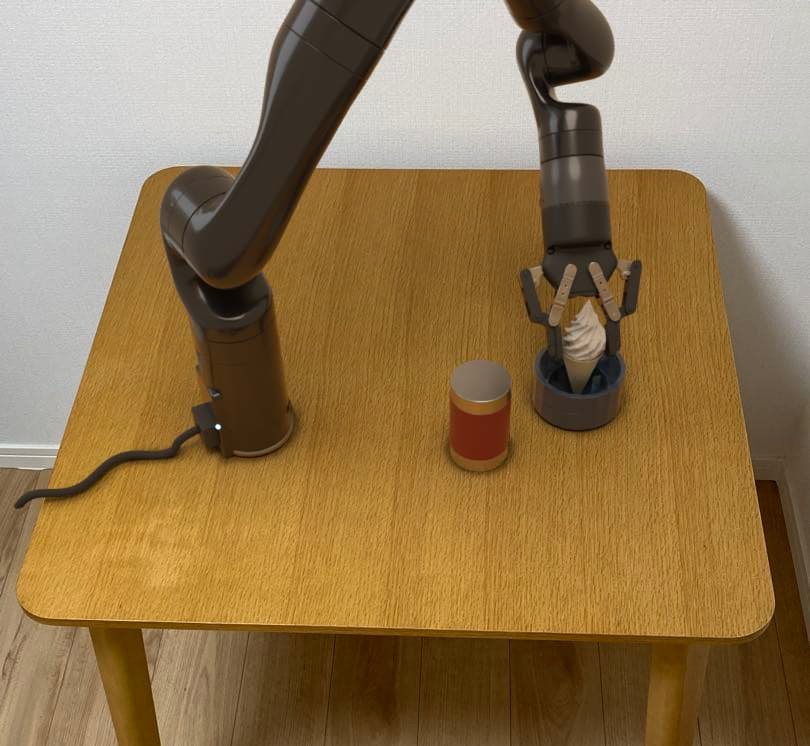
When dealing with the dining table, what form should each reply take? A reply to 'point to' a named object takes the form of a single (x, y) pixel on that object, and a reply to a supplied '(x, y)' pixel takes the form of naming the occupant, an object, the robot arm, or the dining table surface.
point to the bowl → (574, 409)
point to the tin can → (479, 415)
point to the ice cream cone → (583, 347)
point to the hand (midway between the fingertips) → (585, 358)
